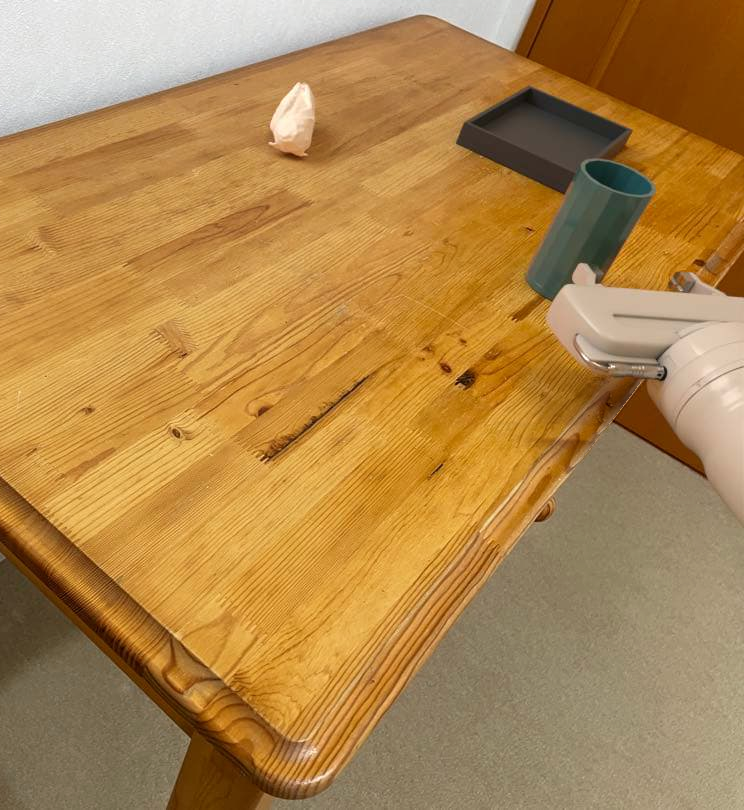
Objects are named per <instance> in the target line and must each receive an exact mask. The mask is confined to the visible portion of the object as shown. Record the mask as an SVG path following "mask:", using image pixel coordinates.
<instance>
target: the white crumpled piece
mask: <svg viewBox="0 0 744 810" xmlns="http://www.w3.org/2000/svg"><path fill="white" fill-rule="evenodd" d="M315 124H316V100H315V96H314V93H313V92H312V90H311V86H309V84H308V83H306V81H303V82H302V83H301V82H297V83H296V84H295V85H294V86H293V87H292V89H291V90H290V91H288V93H287V94H286V95H285V96H284V97H283V98H282V100H281V101H280V103H279V105H278V106H277V107H276V109H275V111H274V114H273V116H272V118H271V120H270V123H269V128H270V131H271V132H272V134H273V138H274V142H271V141H269V142H268V145H269V146H271V147H273V148H274V149H276V150H278V151H279V150H280V151H281V152H283V153H290V154H293V155H294V156H298V157H307V156H309V154H308V153H305V151H307V150H308V149H310V146H311V143H312V138H313V133H314V130H315V129H314V127H315Z"/></svg>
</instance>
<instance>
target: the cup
mask: <svg viewBox="0 0 744 810" xmlns="http://www.w3.org/2000/svg"><path fill="white" fill-rule="evenodd" d="M656 194H657V188H656V184H655V183H653V181H652V180H651V179H650V178H649V177H648V176H646V175H644V174H643V173H641V172H640V171H638V170H637V169H635V168H633V167H630V166H628V165H626V164H623V163H621V162H617V161H613V160H605V159H597V158H596V159H595V158H594V159H587V160H585V161H583V162H582V163H581V164H580V166H579V168H578V170H577V172H576V174H575V176H574V178H573V180H572V182H571V184H570V185H569V187H568V189H567V191H566V193H565V194H563V197H562V198H561V201H560V203H559V205H558V207H557V209H556V211H555V212H554V215H553V217H552V218H551V221H550V222H549V224H548V226H547V228H546V230H545V232H544V234H543V236H542V238H541V240H540V242H539V244H538V245H537V248H536V249H535V252H534V253H533V255H532V257H531V260H530V261H529V263H528V266H527V268H526V270H525V272H524V273H525V274H524V276H525V281H526V282H527V284H528V285H529V287H530V288H531V289H532V290H534V291H535V292H536V293H537V294H538V295H540V296H542V297H543V298H545V299H547V300H549V301H552V302H553V301H554V299H555V297H556V296H557V294H558V293H559V291H560V290H561V289H562V288H563V286H565V285H567V284H575V283H574V282H573V280H572V275H573V273H574V271H575V269H576V268H577V266H578V264H580V263H586V264H594V265H597V266H598V269H600V270H601V271H602V272H603V274H604V275H603V277H602V279H601V281H599V282H598V284H602V285H603V282H604V281H605V279H606V277H607V276H608V274H609V272H610V271H611V269H612V267H613V266H614V264H615V262H616V261H617V259H618V258H619V255H620V254H621V253H622V250H623V249H624V247H625V245H626V244H627V242H628V240H629V239H630V237H631V235H632V234H633V232H634V230H635V229H636V227H637V225H638V223H640V221H641V219H642V217H643V215H644V214H645V212H646V210H647V208H648V207H649V205H650V204H651V202H652V200H653V198H654V197H655V195H656Z"/></svg>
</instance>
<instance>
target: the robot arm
mask: <svg viewBox="0 0 744 810" xmlns="http://www.w3.org/2000/svg"><path fill="white" fill-rule="evenodd" d="M603 275H604V274H603V272H602V271H601V270H600V269H598V266H597V265H594V264H586V263H580V264H578V266H577V268H576V269H575V271H574V273H573V275H572V280H573V282H574V283H575V284H567V285H565V286H563V288H562V289H561V290H560V291H559V293H558V294H557V296H556V297H555V299H554V301H552V302H551V304H550V306H549V308H548V311H547V313H546V316H545V323H546V325H547V327H548V328H549V330H550V331H551V333H552V334H553V335H554V337H555V338H556V339H557V340H558V342H559V343H560V344H561V345H562V347H563V348H564V349H565V351H567V352H568V354H569V355H570V356H571V357H572V358H573V359H574V360H575V361H576V362H577V363H578V364H579V365H580V366H582V368H585V369H586V370H587V371H590V372H592V373H595V374H599V375H605V376H607V377H611V378H615V379H617V378H618V379H621V378H633V379H639V380H646V390H647V391H646V392H647V394H648V396H649V398H650V399H651V401H652V402H653V404H654V405H655V407H656V408H657V410H658V411H659V413H660V414H661V415H662V417H663V419H664V420H665V421H666V423H667V424H668V425H669V427H670V428H671V430H672V432H674V434H675V435H676V437H677V438H678V439H679V441H680V442H681V443H682V444H683V446H685V447H686V448H687V449H688V450H689V451H691V452H692V453H694V454H695V455H696V456H697V457H698V459H700V461H701V463H702V465H703V471H704V473H705V476H706V479H707V481H708V482H709V484H710V486H711V487H712V488H713V490H714V491H715V492H716V494H717V496H718V497H719V498H720V499H721V501H722V502H723V503H724V505H725V507H726V508H727V509H728V510H729V511H730V512H731V514H732V515H733V516H734V517H735V519H736V520H737V521H738V523H739V524H740V525H741V526H742V527H743V528H744V297H743V296H731V295H727V294H726V293H725V292H723V291H720V290H719V289H717V288H715V287H713V286H711V285H709V284H708V283H705V282H703V281H701V279H700V278H699V277H698V276H697V275H696V274H695V273H694V272H691V271H676V272H674V273H673V275H672V278H671V279H670V280H668V284H667V287H668V290H669V291H666V290H654V289H653V290H651V289H640V288H627V287H616V286H615V287H614V286H604V285H603V283H602V284H598V282H599V281H601V279H602V277H603Z"/></svg>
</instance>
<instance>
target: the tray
mask: <svg viewBox="0 0 744 810" xmlns="http://www.w3.org/2000/svg"><path fill="white" fill-rule="evenodd" d="M633 131H634V130H633V129H632V128H630V127H627V126H625V125H623V124H620V123H618V122H615V121H613V120H611V119H609V118H606V117H604V116H602V115H599V114H597V113H595V112H592V111H590V110H587V109H586V108H583V107H581V106H579V105H575V104H573V103H571V102H568V101H566V100H564V99H562V98H560V97H557V96H556V95H555V96H554V95H552V94H550V93H547V92H545V91H543V90H541V89H538V88H536V87H534V86H532V85H527V86H525V87H524V88H522V89H520V90H518V91H517V92H514V93H513V94H511V95H509V96H507V97H506V98H504V99H502V100H500V101H498V102H496V103H495V104H493V105H492V106H490V107H488V108H486V109H485V110H483V111H481V112H480V113H478V114H476V115H473V116H472V117H471V118H469V119H466V120H465V121H464V122H463V124H462V126H461V129H460V131H459V134H458V137H457V139H456V142H455V143H456V145H459V146H462V147H463V148H466V149H467V150H470V151H472V152H474V153H476V154H479V155H480V156H483V157H484V158H487V159H489V160H491V161H494V162H495V163H498V164H499V165H502V166H504V167H505V168H508V169H510V170H512V171H515V172H517V173H518V174H521V175H523V176H525V177H527V178H529V179H532V180H533V181H536V182H537V183H540V184H542V185H544V186H546V187H548V188H551V189H552V190H554V191H557V192H559V193H561V194H563V195H565V193H566V191H567V189H568V187H569V185H570V184H571V182H572V180H573V178H574V176H575V174H576V172H577V170H578V168H579V166H580V164H581V163H582V162H583V161H585V160H587V159H594V158H595V159H596V158H597V159H605V160H610V161H612V159H613V158H614V157H616V156H617V155H618V154H619V153H621V152H622V151H623V149H624V148H625V146H626V144H627V142H628V140H629V139H630V137H631V135H632V133H633Z"/></svg>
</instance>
